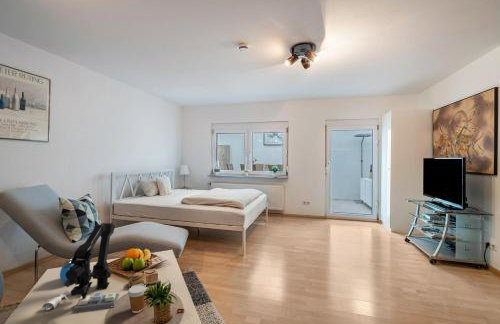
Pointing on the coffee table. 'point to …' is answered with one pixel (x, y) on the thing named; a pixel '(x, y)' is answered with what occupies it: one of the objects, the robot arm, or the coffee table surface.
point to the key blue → (97, 296)
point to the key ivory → (84, 300)
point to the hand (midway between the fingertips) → (84, 298)
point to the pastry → (136, 279)
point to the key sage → (110, 297)
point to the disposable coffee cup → (137, 297)
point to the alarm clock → (65, 269)
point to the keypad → (95, 304)
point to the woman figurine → (54, 301)
